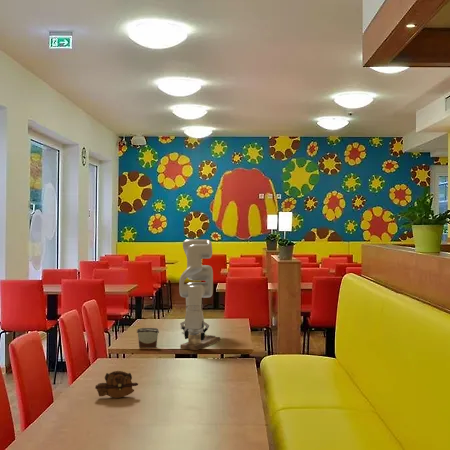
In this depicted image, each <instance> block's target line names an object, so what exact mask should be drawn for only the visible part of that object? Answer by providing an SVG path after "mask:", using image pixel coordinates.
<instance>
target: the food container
mask: <svg viewBox="0 0 450 450" xmlns="http://www.w3.org/2000/svg"><path fill="white" fill-rule="evenodd" d="M136 334H137V338H138V339H137V340H138V348H139V347H146V348H147V349H157V343H158V336H159V335H158V334H160V331H159V328H157V327H139V328H137V330H136ZM146 348H145V349H146Z"/></svg>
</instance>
